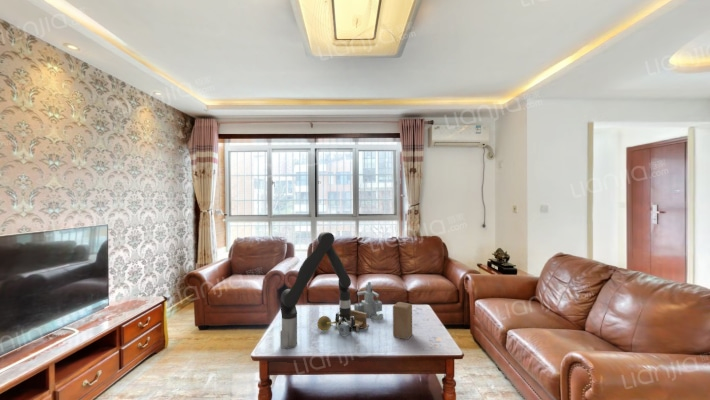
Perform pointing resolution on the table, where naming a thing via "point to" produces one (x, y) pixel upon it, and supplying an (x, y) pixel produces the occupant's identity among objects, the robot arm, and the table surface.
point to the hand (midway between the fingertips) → (345, 330)
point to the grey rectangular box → (344, 329)
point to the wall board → (359, 319)
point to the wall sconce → (325, 323)
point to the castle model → (369, 303)
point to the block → (402, 320)
